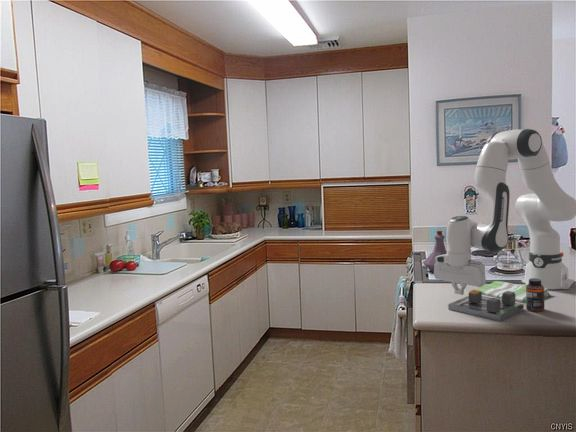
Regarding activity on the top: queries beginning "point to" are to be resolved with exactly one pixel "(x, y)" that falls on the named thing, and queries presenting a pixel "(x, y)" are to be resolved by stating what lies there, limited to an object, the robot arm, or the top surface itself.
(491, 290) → the dish towel
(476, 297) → the breaker mid
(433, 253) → the flask
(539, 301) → the supplement bottle
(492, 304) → the block
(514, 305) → the panel
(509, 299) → the block
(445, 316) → the top surface
